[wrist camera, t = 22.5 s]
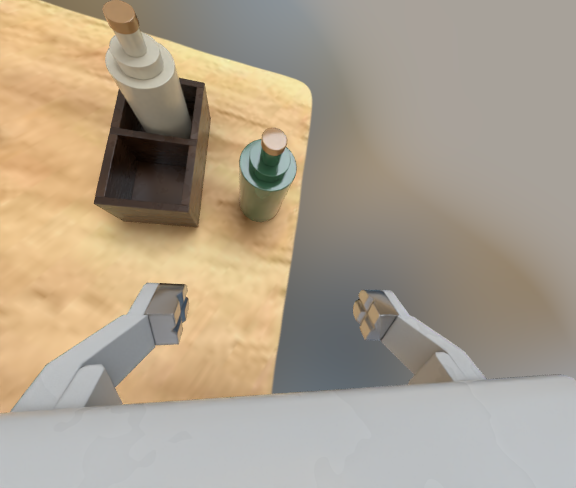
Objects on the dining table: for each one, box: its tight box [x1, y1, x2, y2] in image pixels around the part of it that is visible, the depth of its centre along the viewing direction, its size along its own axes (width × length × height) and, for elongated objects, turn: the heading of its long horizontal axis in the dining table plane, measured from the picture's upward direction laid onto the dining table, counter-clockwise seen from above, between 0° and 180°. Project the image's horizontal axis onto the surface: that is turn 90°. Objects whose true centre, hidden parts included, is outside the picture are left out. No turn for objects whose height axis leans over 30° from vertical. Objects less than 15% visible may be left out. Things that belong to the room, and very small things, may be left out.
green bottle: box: [239, 128, 297, 222], centre depth 24 cm, size 6×6×14 cm
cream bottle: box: [103, 0, 192, 139], centre depth 23 cm, size 6×6×14 cm
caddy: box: [94, 78, 211, 227], centre depth 27 cm, size 16×9×6 cm, turn 179°
